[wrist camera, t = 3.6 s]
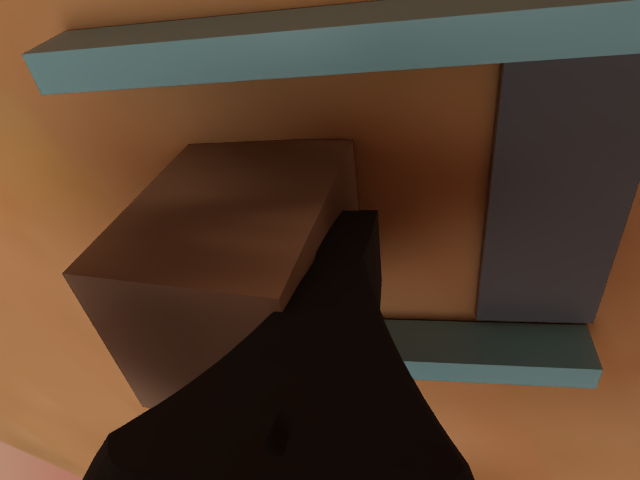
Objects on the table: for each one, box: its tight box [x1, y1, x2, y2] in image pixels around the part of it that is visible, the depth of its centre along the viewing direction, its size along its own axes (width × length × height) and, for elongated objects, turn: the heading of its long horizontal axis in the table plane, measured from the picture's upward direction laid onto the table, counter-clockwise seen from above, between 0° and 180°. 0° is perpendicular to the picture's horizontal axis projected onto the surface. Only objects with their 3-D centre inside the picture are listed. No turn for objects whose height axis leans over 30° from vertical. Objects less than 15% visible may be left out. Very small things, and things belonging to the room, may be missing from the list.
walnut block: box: [62, 139, 359, 408], centre depth 11 cm, size 4×4×5 cm
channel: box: [22, 0, 640, 389], centre depth 12 cm, size 12×10×2 cm
